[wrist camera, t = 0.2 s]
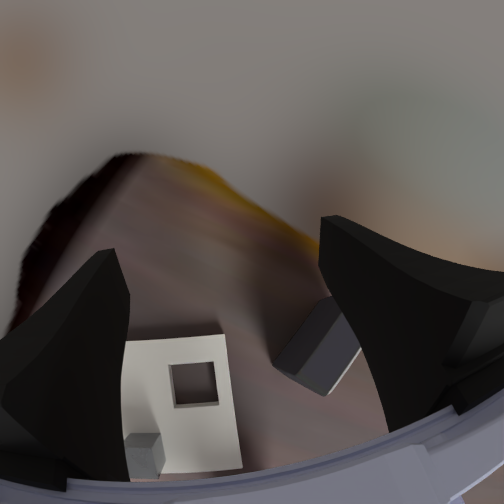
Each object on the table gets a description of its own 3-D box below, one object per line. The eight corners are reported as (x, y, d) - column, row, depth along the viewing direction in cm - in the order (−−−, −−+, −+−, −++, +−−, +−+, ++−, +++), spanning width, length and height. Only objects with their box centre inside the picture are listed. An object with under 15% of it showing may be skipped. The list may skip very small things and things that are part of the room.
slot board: (241, 461, 36) (242, 468, 33) (132, 466, 34) (128, 472, 31) (224, 333, 40) (224, 334, 38) (112, 341, 38) (106, 341, 36)
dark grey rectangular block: (292, 380, 39) (331, 402, 25) (267, 362, 40) (294, 376, 25) (340, 315, 42) (396, 304, 28) (316, 296, 43) (364, 276, 28)
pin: (166, 460, 33) (158, 478, 27) (136, 460, 32) (124, 477, 26) (160, 432, 34) (151, 448, 28) (130, 432, 33) (117, 447, 27)
